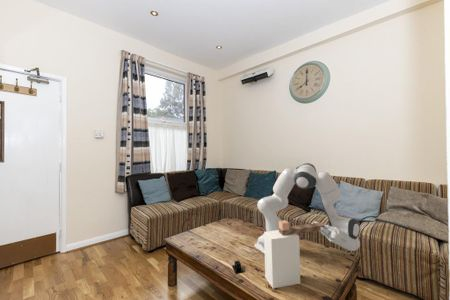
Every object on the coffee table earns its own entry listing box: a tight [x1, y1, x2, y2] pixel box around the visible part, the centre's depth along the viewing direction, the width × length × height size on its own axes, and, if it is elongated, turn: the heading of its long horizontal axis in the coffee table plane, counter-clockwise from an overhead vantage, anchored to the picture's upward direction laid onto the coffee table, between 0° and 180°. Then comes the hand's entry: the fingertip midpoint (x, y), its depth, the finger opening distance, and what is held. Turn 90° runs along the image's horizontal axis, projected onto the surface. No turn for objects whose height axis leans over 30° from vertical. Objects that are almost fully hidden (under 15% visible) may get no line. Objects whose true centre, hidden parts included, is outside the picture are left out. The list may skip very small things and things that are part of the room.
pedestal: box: [263, 230, 301, 289], centre depth 117 cm, size 16×10×26 cm, turn 102°
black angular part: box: [231, 260, 245, 275], centre depth 129 cm, size 12×7×5 cm, turn 13°
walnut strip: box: [279, 222, 325, 236], centre depth 119 cm, size 26×4×2 cm, turn 103°
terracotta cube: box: [279, 219, 290, 231], centre depth 117 cm, size 4×4×4 cm
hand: (316, 225), depth 121 cm, fingers open, 6 cm apart
